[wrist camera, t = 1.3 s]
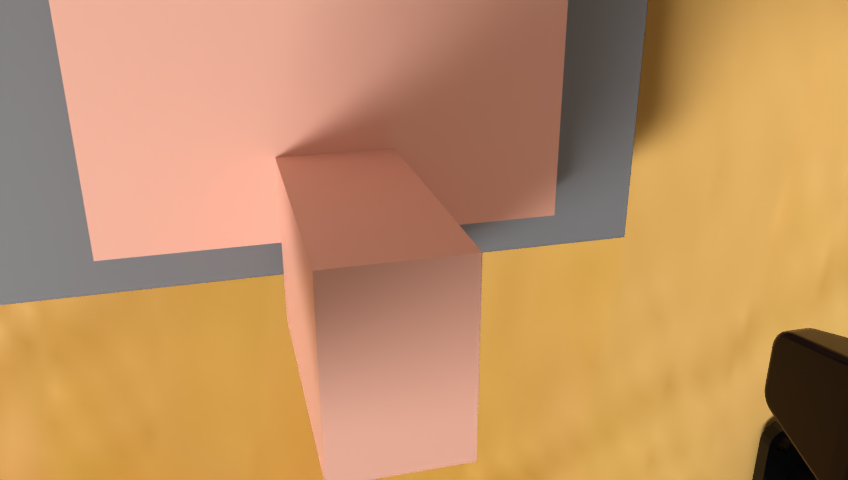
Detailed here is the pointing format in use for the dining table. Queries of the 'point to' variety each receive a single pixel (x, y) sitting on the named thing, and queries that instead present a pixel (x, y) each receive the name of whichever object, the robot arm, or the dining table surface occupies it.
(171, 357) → the dining table surface
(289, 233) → the pink t-shaped block
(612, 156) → the grey slotted box
